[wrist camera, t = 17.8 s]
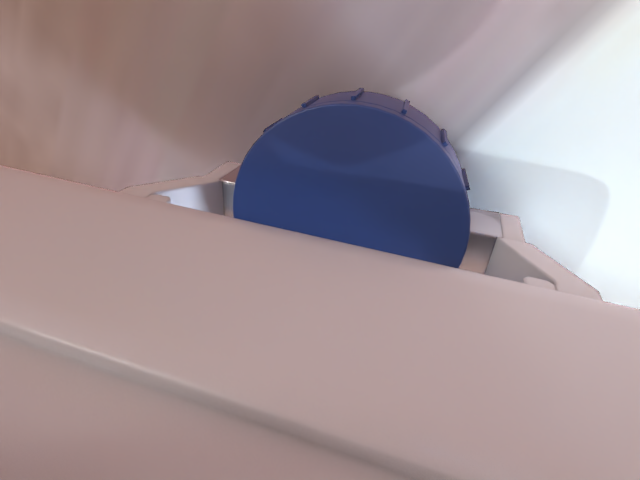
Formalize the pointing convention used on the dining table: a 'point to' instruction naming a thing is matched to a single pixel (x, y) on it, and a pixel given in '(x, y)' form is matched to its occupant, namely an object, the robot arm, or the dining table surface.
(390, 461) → the robot arm
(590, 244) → the dining table surface
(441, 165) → the lid
